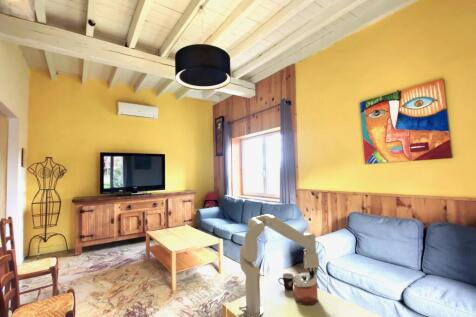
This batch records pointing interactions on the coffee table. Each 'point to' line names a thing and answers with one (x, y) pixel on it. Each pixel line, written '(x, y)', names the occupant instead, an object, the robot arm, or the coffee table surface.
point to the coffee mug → (288, 281)
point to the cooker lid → (304, 280)
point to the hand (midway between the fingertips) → (311, 276)
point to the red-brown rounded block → (306, 295)
